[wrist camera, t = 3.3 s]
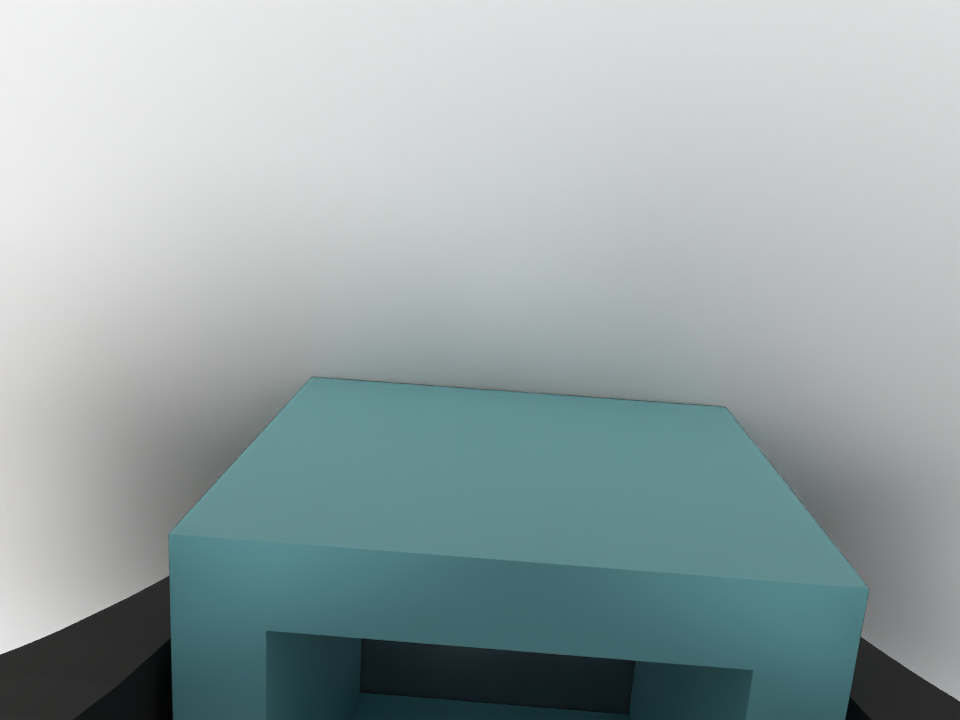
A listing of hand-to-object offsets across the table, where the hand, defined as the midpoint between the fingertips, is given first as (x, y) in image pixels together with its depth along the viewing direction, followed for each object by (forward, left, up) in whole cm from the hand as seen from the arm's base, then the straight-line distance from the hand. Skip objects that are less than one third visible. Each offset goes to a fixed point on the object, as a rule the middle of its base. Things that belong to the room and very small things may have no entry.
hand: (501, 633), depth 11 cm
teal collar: (0, 0, -1) cm, 1 cm away
